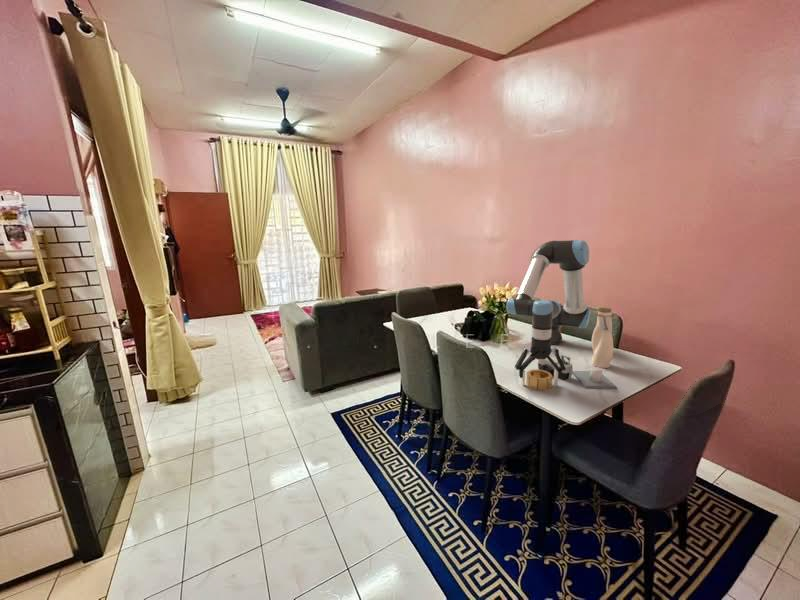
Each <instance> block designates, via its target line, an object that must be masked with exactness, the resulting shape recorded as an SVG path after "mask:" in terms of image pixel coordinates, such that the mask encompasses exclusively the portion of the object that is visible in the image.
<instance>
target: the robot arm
mask: <svg viewBox="0 0 800 600" xmlns="http://www.w3.org/2000/svg"><path fill="white" fill-rule="evenodd" d="M589 260H590V249H589V244H588V243H587V241H585V240H578V239H573V240H549V241H547V242H544V243H542V244H541V245H540V246H538V247H537V248H536V249H535V250H534V251H533V253H532V254H531V256H530V258H529V265H528V268H527V269H526V272H525V275H524V276H523V278H522V279H523V280H522V281H521V284H520V286H519V288H518V290H517V293H516V295H515V297H511V298H508V299H507V300H506V306H505V308H506V312H507V313H508V314H510V315H515V316H524V317H530V318H531V317H532V321H531V323H532V324H531V336H532V337H531V340H530V341H531V342H530V343H531V347H530V348H527V347H523V349H522V352H521V354H520V356H519V358H518V360H517V362H516V363H515V365H514V367H515V369H516V370H517V371H518V372H519V373H518V376H519V378H520V379H521V382H520V383H521V385H522V386H523V387H525V386H526V385H525V382H526V381H525V380H526V371H525V369H527V367H528V366H530V364H531V363H532V362H533V361H535V360H536V359H537V360H539V359H546V358H547V359H548V360H549V361H550V362H551V363H552V364H553V366H554V367H555V368H556V369H557V370H556V369H554V376H553V382H552V385H554V387H558V385H559V384H558V383H559V382H558V381H559V379H558V378H560V374H561V372H562V370H566V368H565V366H564V364H563V362H562V360H561V355H560V351H559V349H558V348H557V347H553V348H551V346H552V345H560V344H562V343H563V336H562V332H561V326H562V327H569V328H576V329H586V328H588V324H589V321H590V318H591V313H592V309H591V308H590V307H588V305H587V303H586V302H585V301H584V283H583V282H584V280H583V269H584V268H585V266H586V265H587V264H588V263H589ZM550 264H553V265H555V264H556V265H558V264H559V268H560V270H562V272H563V273H562V274H563V282H564V286H563V287H564V296H565V303H564V304H563V305H562V302H560V301H558V300H557V301H556V300H555V299H554V300H553V299H550V300H545V299H540V300H536V299H534V297H535V294H536V292H537V291H538V287H539V285H540V282H541V281H542V277H543V275H544V273H545V270H546V269H547V268H549V266H550ZM529 353H530V355H529V356H528V354H529ZM550 354H553V355H554V356H555V358H557V361H558V363H559V365H560V367H558V366H557V365H556V363H555V362H554V361H553V360H552V359H551V358H550V356H551V355H550ZM527 356H528V358H526V357H527Z"/></svg>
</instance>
